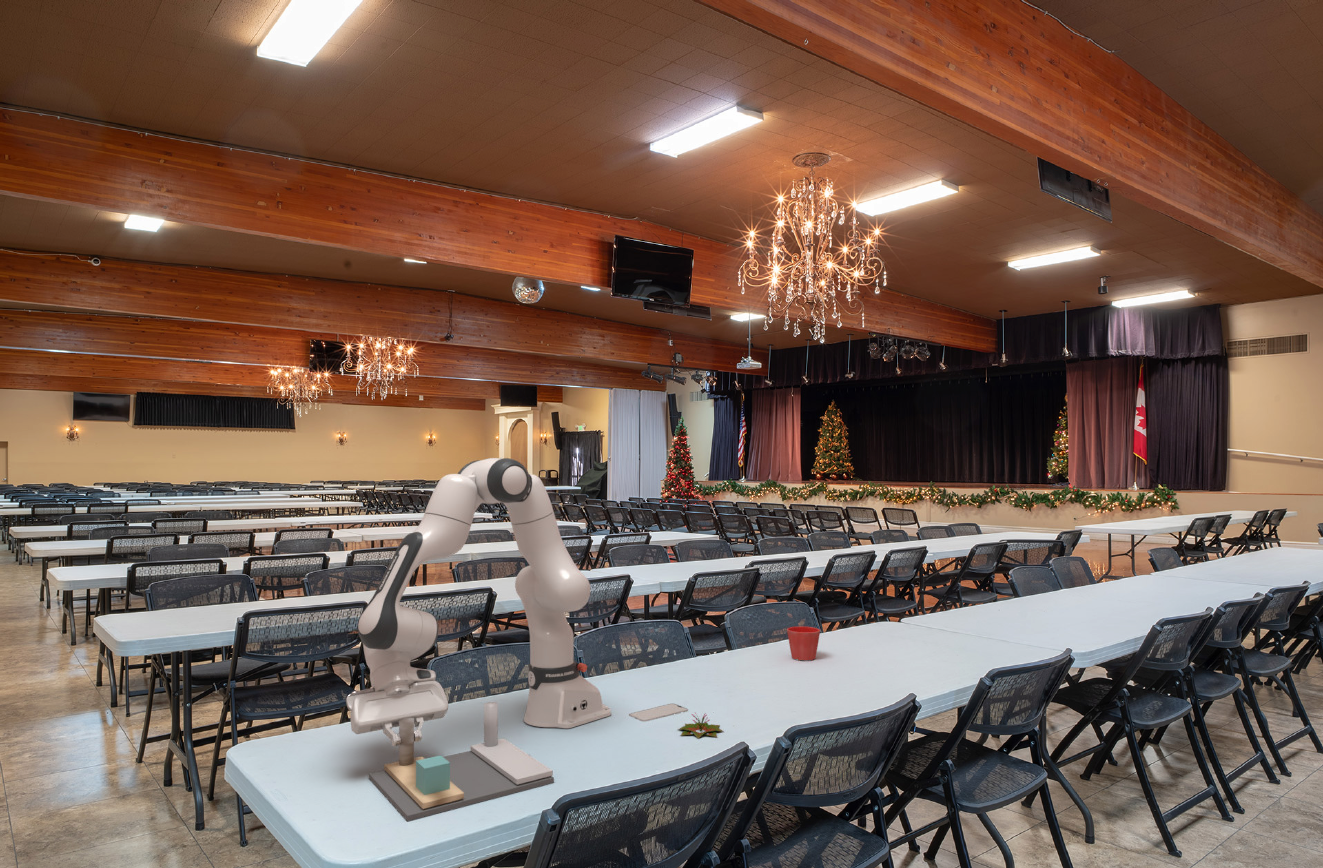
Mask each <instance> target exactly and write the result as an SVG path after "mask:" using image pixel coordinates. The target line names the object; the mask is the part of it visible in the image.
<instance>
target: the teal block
mask: <svg viewBox="0 0 1323 868" xmlns="http://www.w3.org/2000/svg"><path fill="white" fill-rule="evenodd" d="M444 757H445V756H442V755H436V756H431V757H427V758H424V759H422V760H417V761H416V788H417V789H419V790H420V791H421V792H422V793H423V794H424V795H428V794H432V793H436V792H440V791H444V790H448V789H450V762H448V761H447V760H446V759H445V758H444Z"/></svg>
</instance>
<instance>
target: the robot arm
mask: <svg viewBox="0 0 1323 868" xmlns="http://www.w3.org/2000/svg"><path fill="white" fill-rule="evenodd" d="M547 491H548V490H546V487H545V485H544V483H543V481H542V480H541V478H540V477H539V476H538V475H535V474H533V473H529V472H528V470H527V468H526V467H525V466H524V464H522V462H520V461H518V460H516V459H514V458H508V457H507V458H506V457H505V458H502V457H501V458H500V457H499V458H498V457H490V458H489V457H488V458H485V459H481V460H479V459H478V460H473V461H470V462H469V463H466V464H465V465H464V466H462V467H461V469H460V470H459V471H458V473H449V474H445V475H444V476H442V477H441V478H440V479H439V481H438V483H437V485H436V486H435V488H434V490H433V492H432V494H431V496H430V498H429V500H428V503H427V506H426V508H425V511H424V514H423V517H422V519H421V521H420V523H419V524H418V526H417V527H416V528H415V530H413V532H410V533H408V534H407V535H405V536H404V538H403V539H402V540H401V542H400V544H399V545H398V547H397V548H396V551H395V552H394V554H393V556H392V558H391V560H390V562H389V564H388V566H387V568H386V570H385V571H384V574H383V576H382V578H381V580H380V583H379V584H378V586H377V588H376V589H375V592H374V594H373V596H372V597H371V599H370V600H369V602H368V603H367V605H366V606H365V607H364V608H363V610H362V612H361V613H360V616H359V618H358V621H357V624H356V625H357V626H356V627H357V633H358V634H357V635H358V637H359V639H360V641H361V642H362V645H363V646H362V647H363V652H364V653H363V654H364V658H365V662H366V665H367V666H368V669H369V672H370V674H369V680H370V685H371V688H365V689H362V690H353V691H351V693H349V694H348V695H347V696H346V699H345V703H346V707H347V709H348V711H349V712H350V714H349V715H350V716H349V717H350V728H351V732H352V733H354V734H355V735H361V734H366V733H371V732H372V733H373V732H376V731H377V732H378V731H382V732H383V734H384V735H385V737H387V738H388V739H389V740H390V741H391V745H392V747H397V746H399V745H400V743H401V738H400V734H399V733H396V732H394V730H392V729H393V728H396V727H397V728H399V720H401V719H403V718H413V719H414V728H416V730H415V729H414V743H416V742H420V741H422V738H423V734H422V731H421V730H422V727H423V724H424V722H428V721H432V720H437V719H438V720H439V719H443V718H444V717H445V715H446V714H447V713H448V710H449V706H450V705H449V702H448V697H447V696H446V693H445V691H444V688H443V686H442V685H441V683H439V682H438V681H437V680H436V677H437V674H436V672H435V670H431V669H424V668H417V667H413V666H411V661H414V660H416V659H418V658H419V657H421V656H422V655H424V654H426V653H427V652H429V651H430V650H431V649H432V648H433V646H434V645H435V644H436V642H437V639H438V636H439V625H438V622H437V618H436V616H434V615H433V614H432V613H431V612H430V613H429V612H427V611H424V610H420V609H417V608H416V609H415V608H411V607H406V606H403V605H400V602H401V600H402V598H403V596H404V593H405V591H406V588H407V587H408V584H409V582H410V581H411V578H412V576H413V574H414V573H415V571H416V570H417V569H418V567H419V566H421V565H422V564H425V563H426V562H429V561H430V562H431V561H435V560H442V559H447V558H450V557H451V556H453V555H455V554H457V553H459V552H460V551H461V550H462V548H463V547H464V546H465V544H466V542H467V539H468V537H469V534H470V531H471V527H472V525H473V520H474V516H475V513H476V511H477V509H478V508H479V507H480V506H481V504H485V505H486V504H487V505H488V504H489V505H494V504H499V503H503V505H504V506H505V508H506V509H507V512H508V516H509V517H508V518H509V520H510V525H511V527H512V531H513V534H514V538H515V542H516V546H517V549H518V551H519V553H520V555H521V556H522V557H523V558H524V559H525V561H527V564H528V565H527V566H525V567H523V568H521V570H520V571H519V572H518V574H517V575H516V577H515V582H514V583H515V584H514V586H515V592H516V594H517V596H518V597H519V599H520V600H521V602H522V606H523V609H524V612H525V616H526V617H525V618H526V621H527V626H528V631H529V651H530V652H529V653H530V654H529V659H530V660H529V661H530V663H528V671H527V672H528V673H527V674H528V675H527V676H528V677H527V678H528V681H527V682H528V688H529V689H528V699H527V704H526V708H525V709H526V710H525V714H524V717H523V721H524V723H526V724H527V725H530V726H534V727H538V728H539V727H540V728H541V727H542V728H559V729H572V728H574V727H577V726H581V725H585V724H587V723H591V722H594V721H597V720H600V719H603V718H607V717H610V716H611V715H612V711H611V708H610V707H609V706H607V705H606V704H604V703H603V699H602V694H601V692H600V690H599V689H598V687H597V686H596V685H594V684H592V683H591V682H590V681H588V679H586V678H584V677H583V676H582V675H581V674H580V672H582V673H585V672H587V670H588V669H587V668H588V665H587V664H585V663H583V662H577V661H575V660H574V658H575V657H574V631H573V628H572V627H571V625H570V624H569V622H568V620H567V617H566V613H569V612H576V611H579V610H581V609H583V608H584V607H585V606H586V605H587V603H588V602H589V600H590V598H591V597H590V596H591V583H590V581H589V579H588V578H587V577H586V576H585V575H584V574H583V573H582V572H581V570H580V569H579V568H578V567H577V565H576V564H575V562H574V559H572V557H571V555H570V553H569V552H568V549H567V547H566V545H565V543H564V541H563V538H562V536H561V533H560V529H559V526H558V522H557V518H556V515H555V512H554V509H553V505H552V502H551V499H550V497H549V494H548V492H547Z"/></svg>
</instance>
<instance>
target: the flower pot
mask: <svg viewBox="0 0 1323 868" xmlns="http://www.w3.org/2000/svg"><path fill="white" fill-rule="evenodd" d="M786 632H787V638H788V645H789V650H790V654H791V658H792V660H795V659H798V660H797V661H800V660H805V661H804V662H807V661H806V660H811V661H814V660H815V659H816V658H817V657H816V656H817V652H818V647H819V641H820V634H821V630H820V629H819V628H817V627H813V626H812V627H811V626H791V627H788V628H787V629H786ZM813 659H814V660H813Z"/></svg>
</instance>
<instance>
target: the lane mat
mask: <svg viewBox="0 0 1323 868" xmlns="http://www.w3.org/2000/svg"><path fill="white" fill-rule="evenodd" d="M443 757H444V758H445V759H446V760H447V761H448V762H450V781H451V782H452V783H453V784H454V785H455V786H457V787H458V788H459V789H460V790H461V791H462V792H463V793H464V799H460V800H456V801H452V802H448V803H444V804H440V805H437V806H433V807H429V808H425V809H422V808H421V807H420V806H419V805H418V804H417V803H416V802H415V800H414V799H413V798H412V797H411V796H410V795H409V794H408V793H407V792H406V791H405V790H404V789H403V788H402V787H401V786H400V785H399V784H398V783H397V782H396V781H395V780H394V779H393V778H392V777H391V776H390V775H389V774H388V773H387V772H386V771H385V770H384V769H383V770H378V771H374V772H370V773H368V779H369V780H370V781H371V782H372V784H373V785H374V786H375V787H376V788H377V790H378V791H380V792H381V794H382V795H383V796H384V797H385V798H386V800H388V802H390V804H391V805H392V806H393V807H394V809H396V811H397V812H399V814H400V815H401V816H402V817H403V818H404V820H406V822H411V821H414V820H418V819H417V818H419V819H422V818H425V817H424V816H426V817H429V815H430V816H433V815H432V814H434V815H437V814H440V812H441V813H445V812H448V810H449V811H452V810H451V809H453V810H456V809H460V808H463V807H467V806H471V805H475V804H479V803H482V802H486V801H490V800H494V799H497V798H501V797H505V796H509V795H512V794H517V793H520V792H524V791H527V790H531V789H535V788H539V787H543V786H547V785H550V784H554V783H555V778H554V777H553V776H549V777H545V778H541V779H537V780H533V781H529V782H526V783H522V784H518V785H517V784H515V783H514V782H513V781H511V780H510V779H509V778H507V777H506V776H504V775H503V774H502V773H500V772H499V771H498V770H496V769H495V768H494V767H492V766H491V765H490V764H488V763H487V762H486V761H484V760H483V759H482V758H480V757H479V756H478V755H476V754H475V753H473V752H472V751H471V750H467V751H463V752H460V753H459V752H458V753H455V754H451V755H446V756H443Z"/></svg>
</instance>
